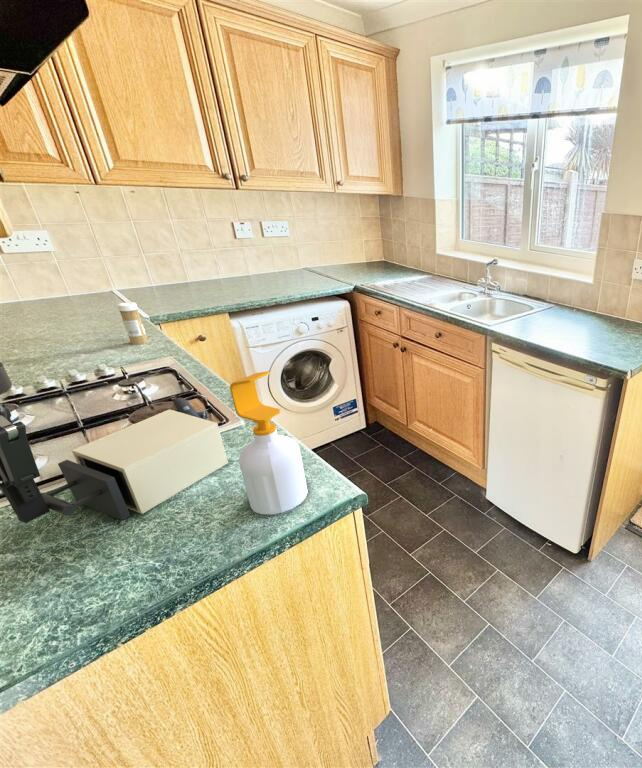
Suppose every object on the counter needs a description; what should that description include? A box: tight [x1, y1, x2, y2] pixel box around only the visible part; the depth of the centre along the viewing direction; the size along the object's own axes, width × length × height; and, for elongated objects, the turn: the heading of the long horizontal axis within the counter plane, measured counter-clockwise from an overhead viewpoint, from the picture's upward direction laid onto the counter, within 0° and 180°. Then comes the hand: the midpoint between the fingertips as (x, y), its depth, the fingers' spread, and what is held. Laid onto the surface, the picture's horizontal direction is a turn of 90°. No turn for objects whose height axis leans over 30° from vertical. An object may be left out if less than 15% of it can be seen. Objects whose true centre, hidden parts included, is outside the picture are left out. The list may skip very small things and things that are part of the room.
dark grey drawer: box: [40, 457, 137, 521], centre depth 71 cm, size 20×11×8 cm, turn 161°
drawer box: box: [71, 409, 229, 515], centre depth 76 cm, size 16×13×10 cm
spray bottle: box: [229, 370, 308, 516], centre depth 70 cm, size 9×9×25 cm
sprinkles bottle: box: [116, 301, 149, 346], centre depth 133 cm, size 5×5×14 cm
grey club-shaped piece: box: [173, 397, 210, 420], centre depth 94 cm, size 18×7×6 cm, turn 43°
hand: (35, 515), depth 61 cm, fingers closed
